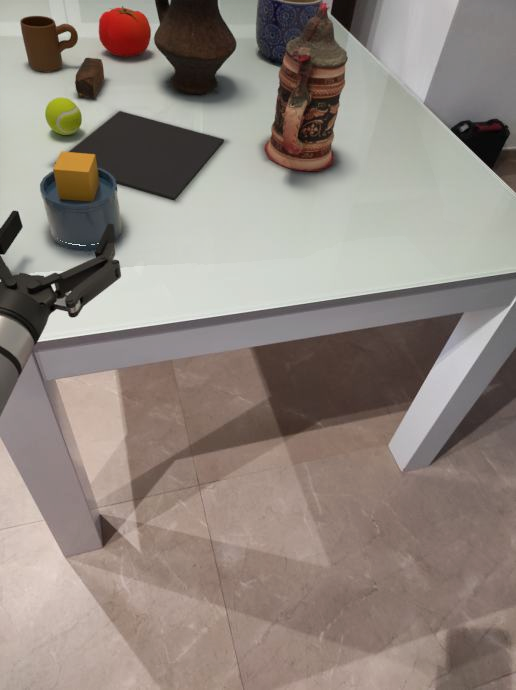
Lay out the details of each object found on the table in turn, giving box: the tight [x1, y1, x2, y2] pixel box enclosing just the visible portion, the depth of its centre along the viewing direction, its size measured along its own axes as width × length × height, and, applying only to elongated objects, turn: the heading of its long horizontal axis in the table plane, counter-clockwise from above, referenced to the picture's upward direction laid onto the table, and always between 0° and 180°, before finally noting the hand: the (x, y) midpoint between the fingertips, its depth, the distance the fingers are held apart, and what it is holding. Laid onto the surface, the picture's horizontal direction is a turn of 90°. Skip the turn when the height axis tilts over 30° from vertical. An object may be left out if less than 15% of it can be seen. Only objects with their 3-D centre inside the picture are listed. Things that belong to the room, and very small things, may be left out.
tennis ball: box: [44, 97, 83, 136], centre depth 100 cm, size 7×7×7 cm
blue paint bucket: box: [39, 168, 123, 251], centre depth 80 cm, size 11×11×8 cm
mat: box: [54, 110, 225, 201], centre depth 100 cm, size 24×24×1 cm
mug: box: [19, 15, 79, 73], centre depth 118 cm, size 12×8×9 cm, turn 100°
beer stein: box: [264, 2, 349, 172], centre depth 97 cm, size 17×28×18 cm
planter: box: [255, 0, 324, 64], centre depth 135 cm, size 16×16×15 cm
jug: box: [153, 0, 237, 95], centre depth 112 cm, size 21×18×30 cm
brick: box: [74, 57, 105, 99], centre depth 114 cm, size 11×4×5 cm, turn 179°
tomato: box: [98, 5, 152, 58], centre depth 127 cm, size 11×13×10 cm
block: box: [52, 151, 100, 202], centre depth 76 cm, size 5×5×5 cm
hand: (65, 225), depth 74 cm, fingers open, 13 cm apart
